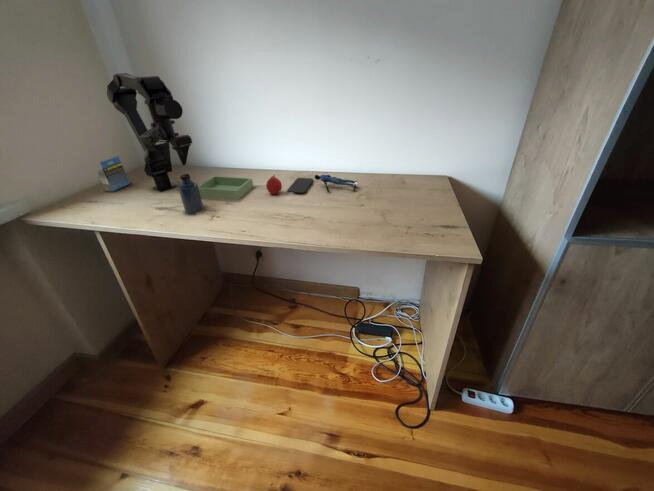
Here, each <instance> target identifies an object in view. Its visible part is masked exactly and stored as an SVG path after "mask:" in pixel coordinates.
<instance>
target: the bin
mask: <svg viewBox="0 0 654 491" xmlns="http://www.w3.org/2000/svg"><path fill="white" fill-rule="evenodd" d="M198 188H199V192H200V195H201V198H212V199H222V200H223V199H224V200H236V201H238V200H239V199H241V198H242V197H243V196H244V195H245V194H247V193H248V192H249V191H250V190H251V189H253V188H254V183H253V178H250V177H237V176H236V177H234V176H223V175H222V176H221V175H213V176H211V177H210V178H208V179H206V180H205V181H204V182H202V183H201V184H198Z"/></svg>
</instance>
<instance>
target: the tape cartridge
mask: <svg viewBox="0 0 654 491" xmlns="http://www.w3.org/2000/svg"><path fill="white" fill-rule="evenodd" d="M99 164H100V166H101V168H100V169H99V170H98V171H97V174H98V177H99V179H100V181H101V184H102V186H103V188H104V190H105V191H106V192H110V193H111V192H112V193H113V192H117V190H120V189H122V188H124V187H126V186H129V185H131V183H130V181H129V178H128V176H127V174H126V171H125V169H124V167H123V163H122V162H121V158H120V156H119V155H117V156H113V157H111V158H108V159H105V160H103V161H100V162H99Z"/></svg>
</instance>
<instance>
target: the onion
mask: <svg viewBox="0 0 654 491" xmlns="http://www.w3.org/2000/svg"><path fill="white" fill-rule="evenodd" d="M265 187H266V190H267V192H268V193H270V194H271V195H274V196H275V195H278V194H279V193H280V192H281V190H282V187H283V186H282V182H281V180H280V179H278V178H277V177H276V175H275V174H272V175H271V177H270V178H268V179H267V182H266V186H265Z"/></svg>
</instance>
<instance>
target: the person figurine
mask: <svg viewBox="0 0 654 491" xmlns="http://www.w3.org/2000/svg"><path fill="white" fill-rule="evenodd" d="M314 179H315V180H317V181H319V180H320V181H321V182H322V183H324V186H325V188H326V190H327V193H330V189H329V188H328V183H331V184H335V185H338V186H339V185H340V186H348V187H352V189H353V191H354V192H356V189H357V187H358V186H359V182H358V181H357V180H352V179H343V178H340V177H336V176H331V175H330V174H321V175H318V174H315V175H314Z"/></svg>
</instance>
